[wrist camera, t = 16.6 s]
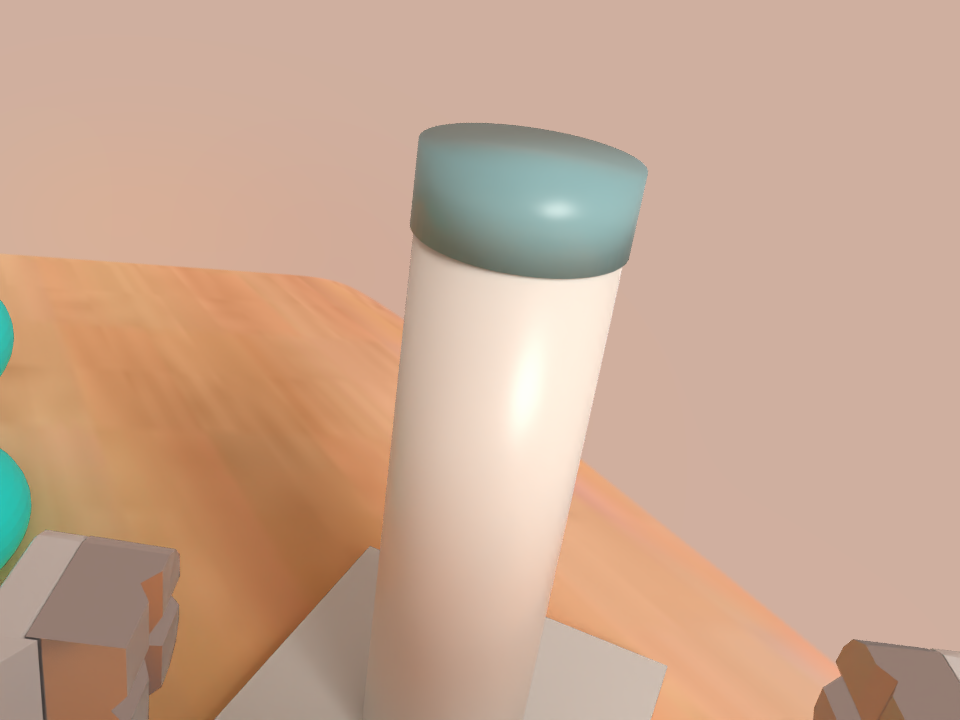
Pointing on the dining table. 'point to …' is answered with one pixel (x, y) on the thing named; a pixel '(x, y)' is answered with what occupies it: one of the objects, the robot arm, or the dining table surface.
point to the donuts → (11, 470)
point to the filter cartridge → (491, 408)
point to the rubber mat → (345, 652)
